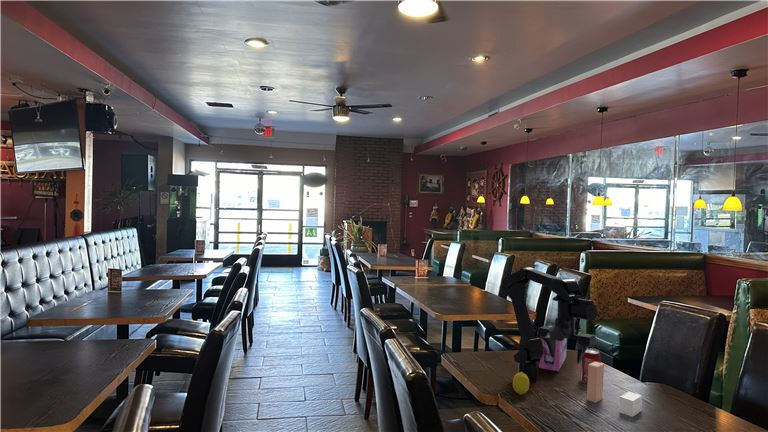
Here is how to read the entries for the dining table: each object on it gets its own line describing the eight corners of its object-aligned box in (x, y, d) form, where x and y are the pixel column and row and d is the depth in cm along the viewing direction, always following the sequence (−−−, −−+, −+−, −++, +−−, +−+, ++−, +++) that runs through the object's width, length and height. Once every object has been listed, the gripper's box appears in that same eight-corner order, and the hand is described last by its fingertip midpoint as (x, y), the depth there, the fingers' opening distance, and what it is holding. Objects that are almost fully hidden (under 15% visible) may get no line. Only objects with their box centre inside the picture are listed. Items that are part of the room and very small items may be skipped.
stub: (586, 399, 159) (588, 364, 159) (593, 396, 162) (595, 361, 162) (595, 402, 157) (597, 366, 156) (602, 398, 160) (604, 363, 160)
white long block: (577, 399, 160) (578, 383, 160) (587, 394, 165) (588, 378, 165) (632, 418, 147) (633, 401, 147) (641, 412, 151) (642, 395, 151)
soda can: (601, 387, 172) (603, 354, 172) (582, 385, 174) (583, 352, 173) (597, 380, 179) (598, 348, 179) (578, 378, 180) (579, 347, 180)
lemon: (529, 393, 164) (530, 370, 164) (528, 399, 159) (529, 375, 159) (512, 390, 166) (513, 368, 166) (511, 396, 161) (512, 373, 161)
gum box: (558, 373, 186) (560, 338, 185) (537, 369, 189) (539, 335, 189) (566, 356, 207) (567, 325, 206) (547, 353, 211) (549, 323, 210)
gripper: (529, 314, 165) (528, 358, 165) (582, 323, 151) (581, 372, 151) (545, 310, 172) (544, 352, 172) (597, 318, 159) (596, 365, 159)
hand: (565, 360), depth 164 cm, fingers open, 9 cm apart
